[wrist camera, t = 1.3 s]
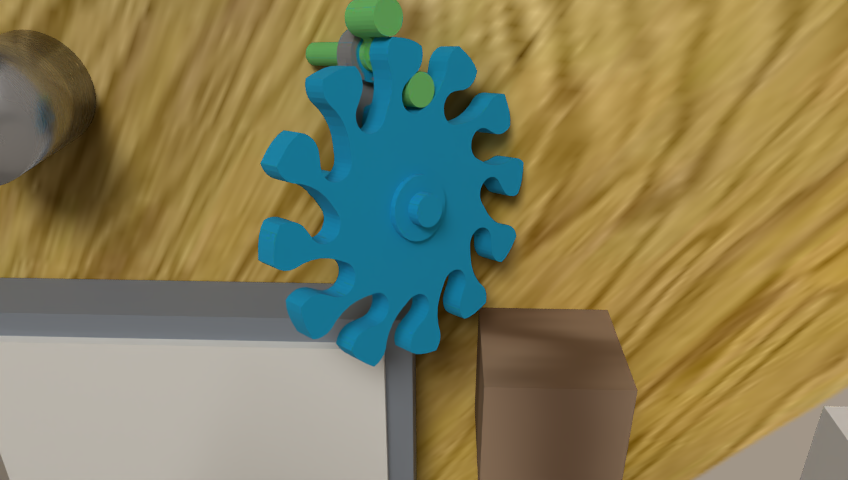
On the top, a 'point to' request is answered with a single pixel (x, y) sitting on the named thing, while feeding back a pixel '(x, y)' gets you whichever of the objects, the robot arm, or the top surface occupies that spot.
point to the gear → (390, 187)
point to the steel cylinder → (39, 100)
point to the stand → (193, 386)
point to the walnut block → (551, 395)
